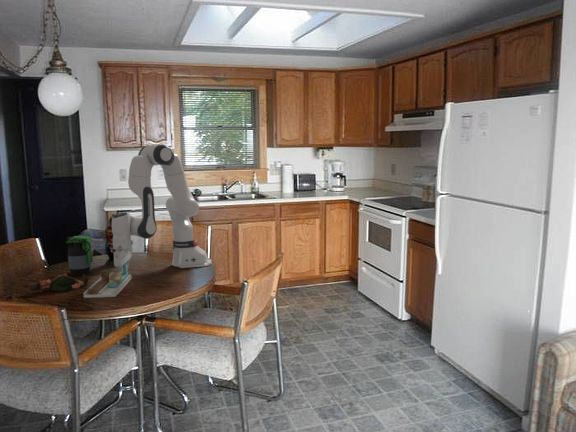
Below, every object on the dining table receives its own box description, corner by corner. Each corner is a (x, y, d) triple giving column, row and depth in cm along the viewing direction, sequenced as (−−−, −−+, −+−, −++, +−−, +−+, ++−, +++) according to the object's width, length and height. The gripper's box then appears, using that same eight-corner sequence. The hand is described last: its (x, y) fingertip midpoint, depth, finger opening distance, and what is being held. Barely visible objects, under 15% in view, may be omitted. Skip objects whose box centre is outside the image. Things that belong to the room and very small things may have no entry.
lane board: (131, 278, 236) (131, 274, 236) (115, 296, 209) (115, 292, 208) (103, 279, 235) (103, 275, 235) (83, 297, 208) (83, 292, 207)
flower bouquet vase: (98, 267, 258) (94, 214, 253) (113, 260, 273) (110, 210, 268) (122, 268, 255) (119, 215, 250) (137, 261, 270) (134, 211, 265)
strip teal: (128, 275, 238) (128, 264, 237) (117, 287, 218) (116, 275, 217) (121, 275, 238) (120, 264, 237) (109, 287, 218) (108, 275, 217)
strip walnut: (110, 280, 229) (110, 269, 228) (97, 293, 209) (96, 281, 208) (102, 280, 228) (101, 269, 227) (88, 294, 209) (87, 281, 208)
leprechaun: (90, 283, 221) (31, 288, 205) (87, 297, 225) (29, 303, 210) (85, 268, 228) (28, 271, 212) (82, 281, 232) (26, 286, 217)
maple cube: (121, 280, 224) (121, 271, 223) (119, 283, 220) (118, 274, 219) (112, 281, 224) (111, 272, 223) (109, 283, 219) (108, 274, 219)
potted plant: (92, 275, 242) (89, 238, 239) (66, 276, 241) (62, 239, 238) (99, 270, 253) (96, 234, 249) (74, 270, 252) (71, 234, 249)
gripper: (122, 249, 224) (124, 276, 226) (133, 240, 244) (135, 265, 246) (109, 249, 223) (111, 276, 225) (121, 240, 243) (123, 265, 246)
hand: (123, 270), depth 236 cm, fingers open, 8 cm apart
